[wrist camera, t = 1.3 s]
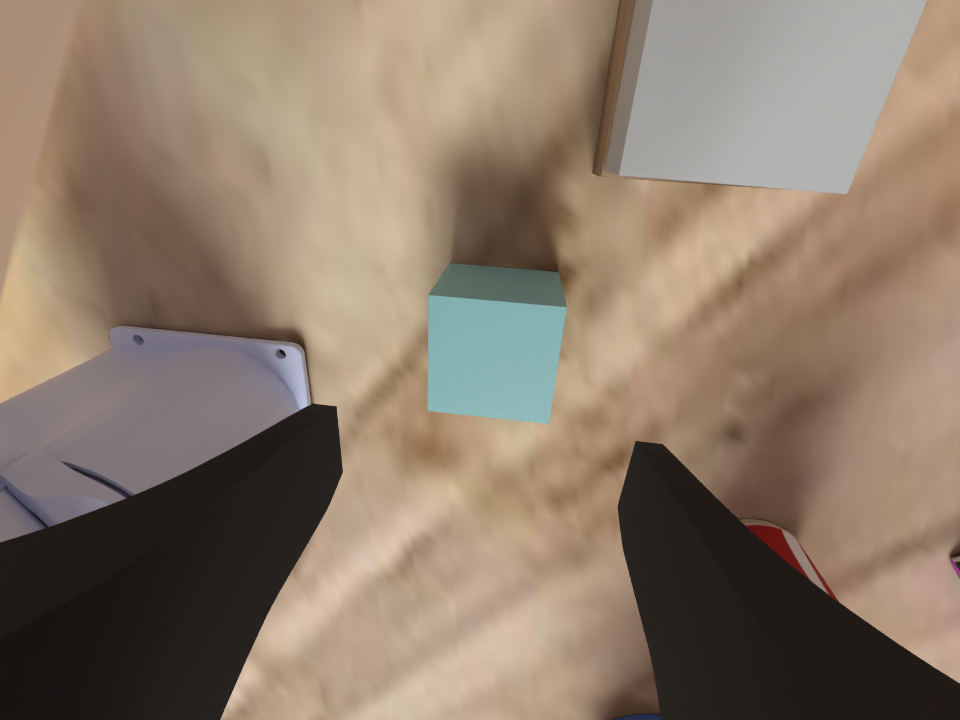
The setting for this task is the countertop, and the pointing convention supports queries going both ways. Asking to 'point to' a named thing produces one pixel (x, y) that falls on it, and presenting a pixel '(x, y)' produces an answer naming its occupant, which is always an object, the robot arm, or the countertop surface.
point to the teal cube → (495, 342)
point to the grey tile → (756, 89)
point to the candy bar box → (956, 564)
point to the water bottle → (641, 717)
